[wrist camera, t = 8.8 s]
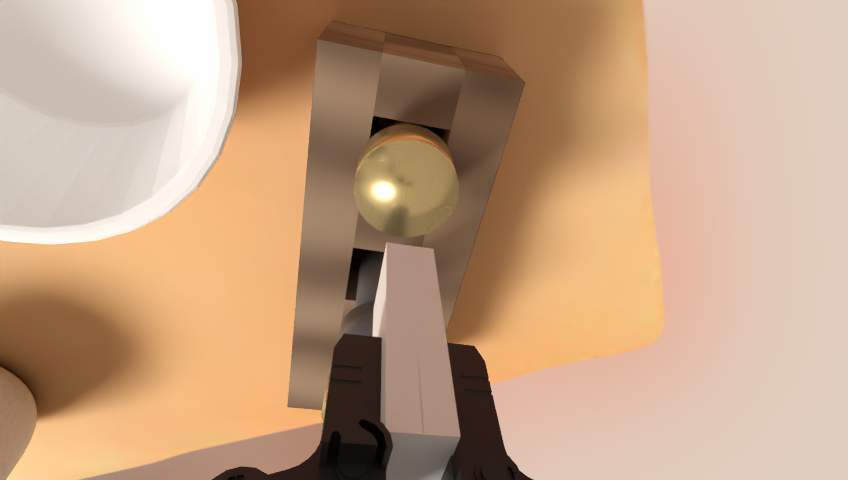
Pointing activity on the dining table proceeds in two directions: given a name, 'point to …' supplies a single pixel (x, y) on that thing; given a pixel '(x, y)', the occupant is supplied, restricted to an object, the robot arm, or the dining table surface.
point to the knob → (405, 179)
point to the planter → (14, 420)
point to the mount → (338, 158)
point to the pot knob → (364, 295)
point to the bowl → (110, 111)
